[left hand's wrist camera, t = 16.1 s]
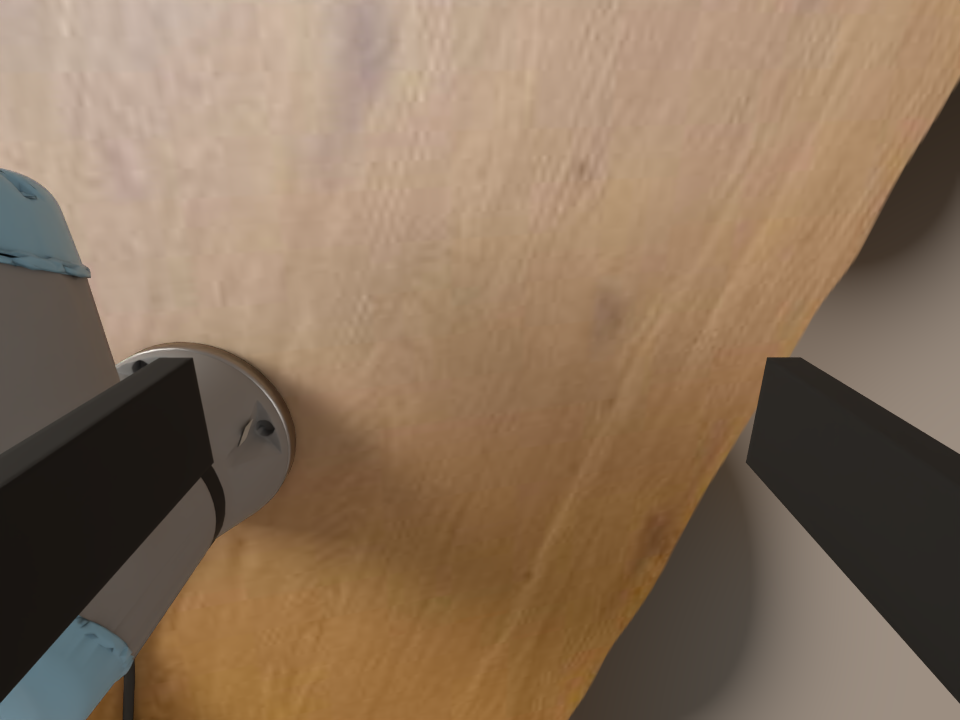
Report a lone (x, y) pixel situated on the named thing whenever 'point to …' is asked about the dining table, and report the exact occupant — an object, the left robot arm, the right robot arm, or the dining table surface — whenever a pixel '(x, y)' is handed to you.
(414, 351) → the dining table surface
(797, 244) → the dining table surface
